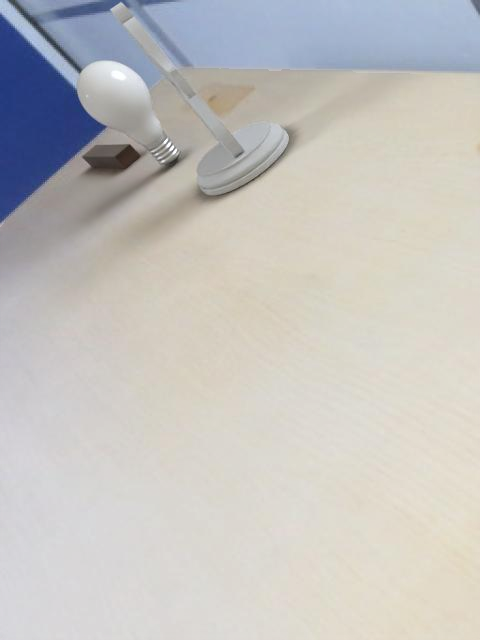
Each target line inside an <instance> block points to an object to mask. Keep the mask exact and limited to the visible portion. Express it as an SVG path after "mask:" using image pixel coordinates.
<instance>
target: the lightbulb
mask: <svg viewBox="0 0 480 640" xmlns="http://www.w3.org/2000/svg"><path fill="white" fill-rule="evenodd" d="M76 94H77V97H78V100H79V102H80V104H81V106H82V107H83V109H84V110H85V112H86V113H87V114H88V115H89V116H90V117H91V118H92V119H93V120H95V121H96V122H98V123H99V124H101V125H103V126H105V127H107V128H110V129H112V130H115V131H118V132H120V133H122V134H124V135H126V136H128V137H129V138H130V139H131V140H132V141H134V142H135V143H136V144H139V145H141V147H143V148H144V149H145V150H146V151H148V153H149V154H150V155H151V156H152V158H154V159H155V161H157V162H158V164H159V165H161V166H163V165H166V166H168V165H175V164H176V163H177V162H178V161H179V157H180V155H181V149H180V148H179V147H178V146H177V145H176V143H175V142H173V140H172V139H171V138H170V136H168V134H167V133H166V131H165V130H164V127H163V125H162V123H161V121H160V120H159V118H158V116H157V114H156V112H155V109H154V103H153V99H152V96H151V91H150V89H149V87H148V86H147V84H146V82H145V80H143V78H142V77H141V76H140V75H139V74H138V73H137V72H136V71H135V70H134V69H133V68H131V67H130V66H128V65H125V64H123V63H121V62H119V61H115V60H110V59H109V60H107V59H103V60H102V59H101V60H97V61H93V62H91V63H89V64H87V65H86V66H84V67H83V68H82V70H81V71H80V73H79V75H78V77H77V80H76Z"/></svg>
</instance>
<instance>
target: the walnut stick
mask: <svg viewBox="0 0 480 640" xmlns="http://www.w3.org/2000/svg"><path fill="white" fill-rule="evenodd" d="M140 157H141V154H140V153H139V152H138V151H137V150H136V149H135V148H134V147H133V146H132V145H131V143H122V144H121V143H117V144H115V143H113V144H95V145H93V146H92V148H90V149H89V150H88V151H87V152H85V153H84V154H83V155H82V156H81V158H82V159H83V160H84V161H85V162H86V163H87V164H88V165H89V166H90V167H91V168H93V169H94V168H95V169H96V168H97V169H103V168H104V169H127V168H128V167H129V166H131V165H132V164H133V163H134V162H135V161H137V160H138V159H139V158H140Z"/></svg>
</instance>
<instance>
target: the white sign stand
mask: <svg viewBox="0 0 480 640" xmlns="http://www.w3.org/2000/svg"><path fill="white" fill-rule="evenodd" d="M109 10H110V11H111V13H112V14H113V16H114V18H115V19H117V21H118V22H119V23H120V25H121V26H122V27H123V28H124V29H125V31H126V32H127V34H128V35H129V36H130V37H131V39H133V41H134V42H135V43H136V44H137V46H138V47H139V48H140V50H142V52H143V53H144V54H145V56H147V58H148V59H149V60H150V61H151V63H152V64H153V65H154V66H155V68H156V69H157V70H158V71H159V72H160V73H161V74H162V76H163V77H164V78H165V79H166V80H167V82H168V83H169V84H170V85H171V87H172V88H173V89H174V90H175V91H176V92H177V94H178V95H179V96H180V97H181V98H182V100H183V101H184V102H185V104H187V105H188V107H189V109H191V110H192V112H193V113H194V114H195V115H196V117H197V118H198V119H199V120H200V122H201V123H202V124H203V126H205V128H206V129H207V130H208V132H210V133H211V135H212V136H213V137H214V138H215V140H216V141H217V143H216V144H215V145H213V147H211V148H210V150H208V151H207V152H206V153H205V155H204V156H202V158H201V159H200V160H199V162H198V164H197V166H196V170H195V171H196V174H197V175H196V183H197V185H198V186H199V188H200V190H201V191H202V192H203V193H204V194H205V195H207V196H220V195H224V194H227V193H229V192H232V191H234V190H236V189H238V188H240V187H242V186H244V185H246V184H247V183H250V182H251V181H252V180H254V179H256V178H257V177H258V176H259V175H261V174H262V173H264V172H265V171H266V170H267V169H268V168H270V167H271V166H272V165H273V164H274V163H275V162H276V161H277V160H278V159H279V158H280V157H281V155H282V154H283V153H284V152H285V150H286V149H287V147H288V145H289V142H290V137H289V134H288V133H287V131H286V130H285V129H284V128H282V126H281V125H279V124H277V123H270V121H268V120H260V121H255V122H252V123H249V124H247V125H244V126H243V127H240V128H239V129H237V130H235V131H233V132H230V130H229V129H228V128H227V127H226V125H225V124H224V123H223V122H222V120H221V119H220V118H219V117H218V116H217V115H216V113H215V112H214V111H213V110H212V109H211V108H210V107H209V106H208V104H207V103H206V102H205V101H204V99H203V98H202V97H201V96H200V94H198V92H196V90H195V89H194V87H192V86H191V84H190V83H189V82H188V81H187V80H186V78H185V77H184V76H183V75H182V73H181V72H180V71H179V69H178V68H177V67H176V66H175V64H174V63H173V62H172V61H171V60H170V58H169V57H168V56H167V55H166V53H165V52H164V50H162V48H161V47H160V46H159V44H158V43H157V42H156V40H155V39H154V38H153V37H152V35H151V34H150V33H149V32H148V30H147V29H146V28H145V27H144V26H143V24H141V22H140V21H139V20H138V19H137V18H136V16H134V14H133V13H132V12H131V10H129V8H128V7H127V6H126V5H125V4H124V3H123V2H122V1H120V2H118V4H116V5H114V6H113V7H111V8H110V9H109Z"/></svg>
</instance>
